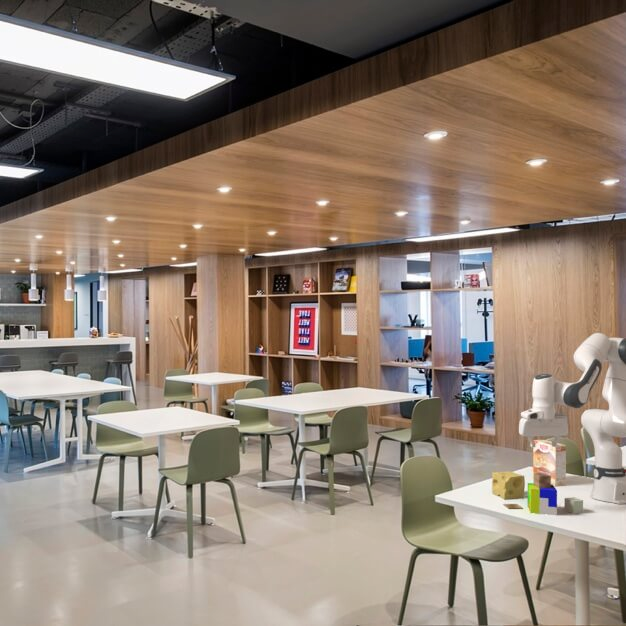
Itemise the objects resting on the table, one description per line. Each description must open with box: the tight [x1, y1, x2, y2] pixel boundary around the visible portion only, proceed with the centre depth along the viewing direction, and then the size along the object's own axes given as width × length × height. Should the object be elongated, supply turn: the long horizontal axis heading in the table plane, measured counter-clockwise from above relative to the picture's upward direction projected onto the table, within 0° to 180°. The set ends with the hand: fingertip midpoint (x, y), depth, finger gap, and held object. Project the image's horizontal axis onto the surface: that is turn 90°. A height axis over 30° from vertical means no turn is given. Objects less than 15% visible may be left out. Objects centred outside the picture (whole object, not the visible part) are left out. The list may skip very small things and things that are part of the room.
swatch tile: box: [502, 503, 524, 510], centre depth 263 cm, size 6×6×1 cm
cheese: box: [491, 470, 526, 500], centre depth 281 cm, size 10×11×10 cm
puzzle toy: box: [527, 482, 558, 516], centre depth 258 cm, size 10×10×10 cm
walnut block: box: [533, 473, 551, 488], centre depth 258 cm, size 5×5×5 cm
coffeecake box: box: [532, 439, 567, 487], centre depth 307 cm, size 15×7×20 cm, turn 23°
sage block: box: [563, 496, 584, 514], centre depth 259 cm, size 5×5×5 cm
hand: (543, 446), depth 261 cm, fingers open, 8 cm apart
